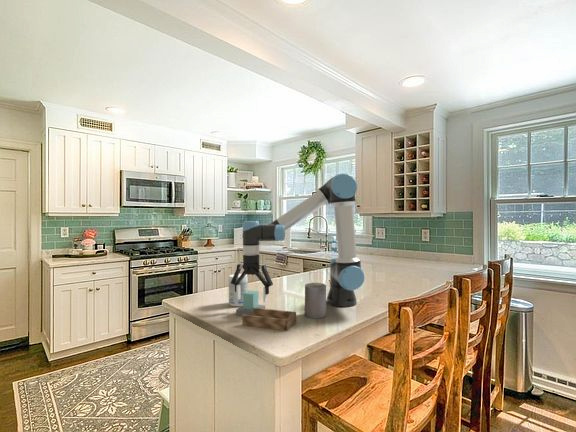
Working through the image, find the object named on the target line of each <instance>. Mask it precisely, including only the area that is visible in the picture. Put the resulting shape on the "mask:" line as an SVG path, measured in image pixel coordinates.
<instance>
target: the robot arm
mask: <svg viewBox="0 0 576 432" xmlns="http://www.w3.org/2000/svg"><path fill="white" fill-rule="evenodd" d="M357 182H358V181H357V180H356V179H355V177H354V176H352V175H351V174H349V173H338V174H336V175H334V176H333V177H331V178H329V179H328V180H327V181H326V182H325V183H324V184H322V186H320V187H318V188H317V189H316V192H315V193H313V194H311V196H309V197H307V198H306V199H305V200H303V201H301V202H300V203H299V204H297V205H296V206H294V207H292V208H291V209H289V210H288V211H287V212H285V213H284V214H282V215H281V216H280V217H278V218H276V219H275V220H273V221H272V222H270V223H268V224H260V222H259V220H244V221H243V222H242V254H243V255H242V263H243V264H242V263H238V264H237V265H236V268H235V269H236V270H235V272H234V276H233V278H232V281H231V284H234V285H235V292H236V299H237V300H239V299H240V298H241V288H240V285H238V284H239V283H240V282H241V280H242V279H243V278H244V277H245V275H247V276H248V275H252V276H256V277H257V278H258V279H259V281H260V282H261V283H262V286H263V288H262V289H263V294H262V296H263V297H262V298H263V303H265V302H268V295H269V294H270V287H271V286H273V284H274V283H273V280H272V278H271V277H270V274H269V273H268V272H269V271H268V269H267V265H266V264H262V265H260V254H259V253H260V242H281V241H283V242H284V241H285V240H286V239H285V238H286V231H288V230H289V229H291V228H292V227H294V226H295V225H297V224H298V223H300V222H301V221H303V220H304V219H306V218H307V217H308V216H310V215H312V214H314V212H316V211H317V210H319V209H321V208H322V207H324V206H329V205H330V204H331V205H332V206H333V208H334V218H335V219H334V220H335V230H336V231H335V232H336V243H337V244H336V245H337V254H338V255H337V256H338V257H337V258H335V257H334V258H331V259H330V261H329V265H330V266H329V272H330V273H329V274H330V275H329V277H330V278H329V282H330V285H329V289H328V292H327V295H326V304H328V305H330V306H335V307H343V308H345V307H346V308H347V307H353V306H355V305H357V297H356V293H355V290H359V288H361V287H362V286H363V284H364V282H365V273H364V271H363V269H362V265H361V258H360V257H358V254H357V244H356V243H357V242H356V230H355V220H354V205H355V203H356V202H357V201H356V193H357V191H358V183H357ZM242 269H243V271H242ZM260 270H261V271H260ZM241 271H242V273H241ZM261 272H262V273H261ZM239 274H241V276H240V277H239V278H238V279H237V277H238V275H239ZM236 280H237V281H236Z"/></svg>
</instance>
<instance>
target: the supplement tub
mask: <svg viewBox="0 0 576 432" xmlns="http://www.w3.org/2000/svg"><path fill="white" fill-rule="evenodd" d="M234 274H235V273H234ZM234 274H230V275H228V305H229V306H231V307H237V308H239V307H241V306H243V293H245V292H247V291H249V288H248V287H249V286H248V284H249V282H248V280H249V279H248V275H247V274H246V275H245V277H244V278H243V279H242V280H241V282H240V283H239V284H238V285H240V288H241V298H240V299H239V300H237V299H236V292H235V285H234V284H231V281H232V278H233V276H234ZM241 274H242V273H239V275H238V277H237V279H238V278H239V277H240V276H241ZM236 281H237V280H236Z"/></svg>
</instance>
